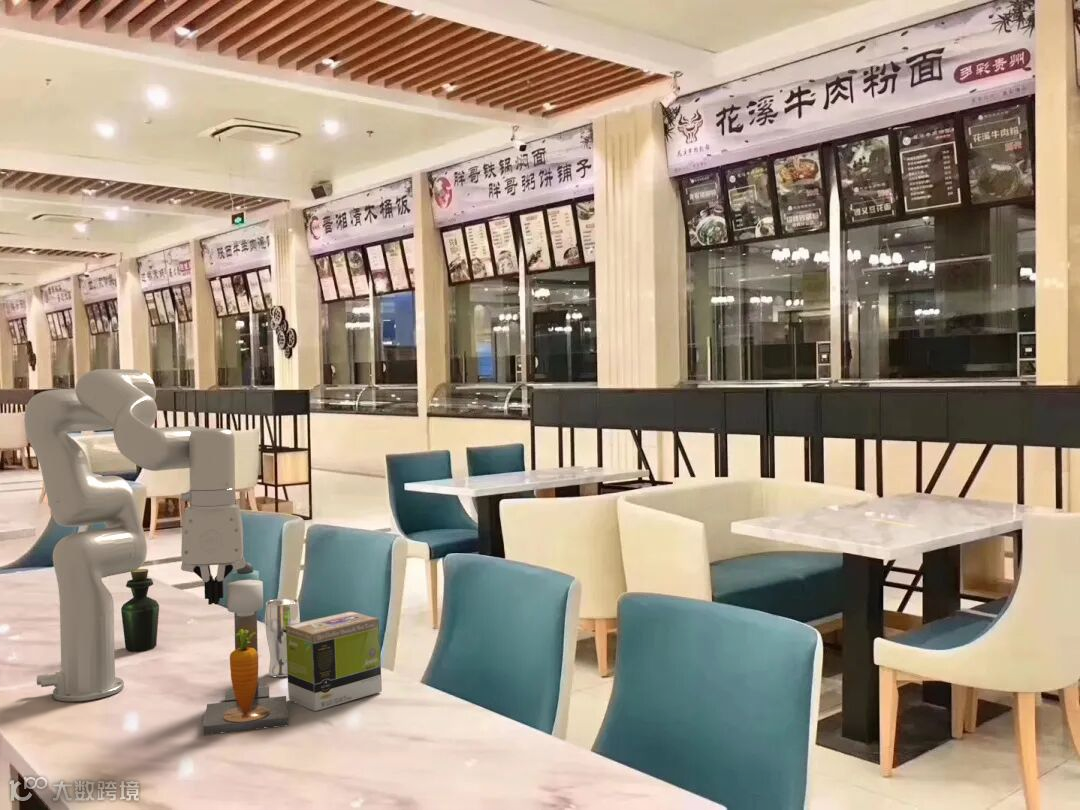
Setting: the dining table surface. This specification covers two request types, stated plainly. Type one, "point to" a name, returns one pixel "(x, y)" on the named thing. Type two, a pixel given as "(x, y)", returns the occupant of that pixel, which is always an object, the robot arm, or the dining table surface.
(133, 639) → the potion bottle
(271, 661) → the beer glass
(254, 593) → the press arm
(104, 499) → the robot arm
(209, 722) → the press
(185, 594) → the dining table surface
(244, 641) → the carrot
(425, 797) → the dining table surface
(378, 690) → the tea box
